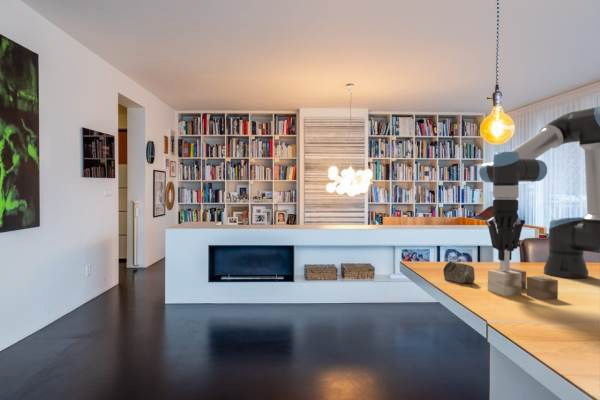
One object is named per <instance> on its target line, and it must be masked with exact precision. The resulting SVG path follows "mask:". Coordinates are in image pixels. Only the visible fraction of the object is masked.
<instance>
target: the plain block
mask: <svg viewBox="0 0 600 400" xmlns="http://www.w3.org/2000/svg"><path fill="white" fill-rule="evenodd" d="M521 280H522V273H519V272H515V271H510V270H509V271H503V270H500V268H498V269H488V270H487V291H488V292H490V293H493V294H498V295H500V296H503V297H506V296H515V295H516V296H517V295H522V289H521Z"/></svg>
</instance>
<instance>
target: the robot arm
mask: <svg viewBox="0 0 600 400" xmlns="http://www.w3.org/2000/svg"><path fill="white" fill-rule="evenodd" d="M568 143H579V144H578V145H579V147H580V148H582V149H583V150H584V162H585V163H584V164H585V165H584V166H585V167H584V170H585V188H586V189H585V192H586V193H585V194H586V210H587V211H586V212H587V213H586V214H584V216H583V217H581V216H579V217H577V216H576V217H561V218H558V217H557V218H552V219H551V220H550V221H549V225H548V226H549V228H548V255H547V258H546V261H545V264H544V266H543V273H544V274H545V275H549V276H553V277H558V278H559V277H560V278H569V279H584V278H585V279H587V278H589V270H588V269H587V265H586V261H585V258H584V252H590V253H596V254H600V106H596V107H591V108H587V109H581V110H577V111H570V112H569V113H568V112H567V113H565V114H563V115H560V116H559V117H557V118H556V119H554V120H552V121H550V122H549V123H547V124H545V125H544V126H542V127H541V128H540V129H539V131H538V133H536V134H534V135H533V136H531V137H530V138H529V139H527V140H526V141H524V142H522V143H521V144H519V145H517V146H516V147H515V148H513V149H512V150H510V151H499V152H495V153H494V155H493V161H489V162H485V163H482V165H481V166H480V168H479V171H478V172H479V173H478V174H479V177H480V179H481V181H483V182H485V183H492V185H493V186H492V198H494V199H493V200H492V211H493V212H492V216H491V218H489V219H486V220H485V223H486V225H487V227H488V232H489V237H490V241H491V245H492V248H493V249H495V250H497V251H498V253H497V255H498V257H497V259H498V260H499V269H500V270H503V271H509V268H510V264H511V263H510V261H512V252H514V251H515V250H516V249H518V247H519V243H520V238H521V234H522V230H523V227H524V225H525V223H526V220H525V219H521V218H520V217H519V215H518V211H519V200H518V199H517V198H519V193H520V192H519V185H520V184H519V183H520V182H522V183H523V182H532V183H534V182H540V181H542V180H544V178H545V177H547V174H548V166H547V163H546V162H544V161H543V160H541V159H537V158H539V157H540V156H542V155H543V154H545V153H546V152H547V151H549V150H551V149H556V148H558V147H560V146H561V145H563V144H564V145H565V144H568Z"/></svg>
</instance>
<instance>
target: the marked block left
mask: <svg viewBox="0 0 600 400" xmlns="http://www.w3.org/2000/svg"><path fill="white" fill-rule="evenodd" d="M558 284H559V281H558V279H555V278H551V277H547V276H544V275H542V276H538V275H537V276H536V275H535V276H526V290H525V291H526V296H528V297H531V298H534V299H536V300H539V301H543V300H545V301H546V300H547V301H549V300H551V301H552V300H558V297H559V293H558V292H559V291H558V290H559V289H558V288H559V285H558Z"/></svg>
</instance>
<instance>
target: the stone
mask: <svg viewBox="0 0 600 400" xmlns="http://www.w3.org/2000/svg"><path fill="white" fill-rule="evenodd" d="M475 276H476V275H475V269H474V266H472V265H470V264H466V263H462V262H456V261H453V260H450V261H449V262H447V263H446V264H445V266H444V268H443V278H444V280H447V281H450V282H455V283H459V284H465V283H467V284H473V283H474V282H475V279H476V277H475Z"/></svg>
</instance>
